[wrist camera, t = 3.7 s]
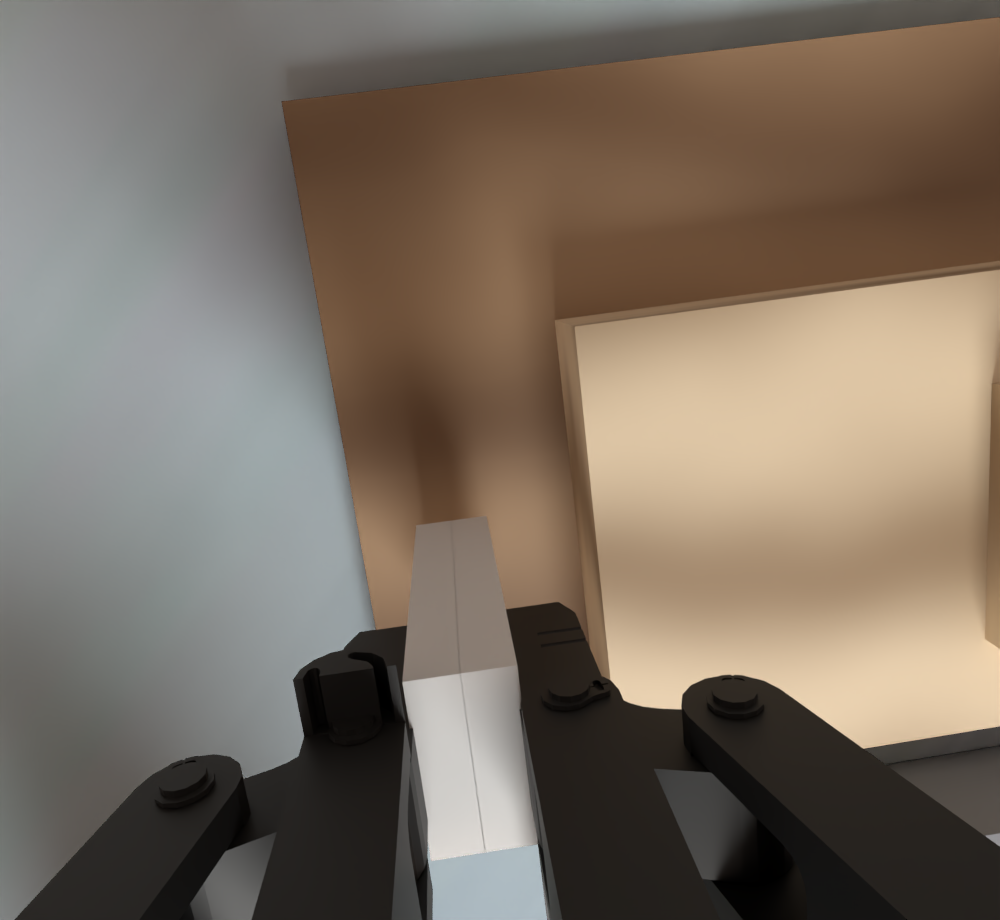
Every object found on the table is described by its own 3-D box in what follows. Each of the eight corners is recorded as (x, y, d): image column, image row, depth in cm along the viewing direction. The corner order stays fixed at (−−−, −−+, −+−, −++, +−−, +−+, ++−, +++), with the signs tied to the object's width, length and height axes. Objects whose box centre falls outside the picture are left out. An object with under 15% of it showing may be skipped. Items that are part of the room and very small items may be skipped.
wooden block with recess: (554, 320, 17) (589, 332, 13) (1161, 239, 17) (1369, 226, 14) (598, 724, 19) (639, 836, 15) (1131, 639, 20) (1301, 726, 16)
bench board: (292, 114, 17) (281, 101, 15) (1417, -20, 18) (1485, -41, 17) (406, 761, 20) (404, 791, 19) (1328, 614, 22) (1379, 633, 20)
